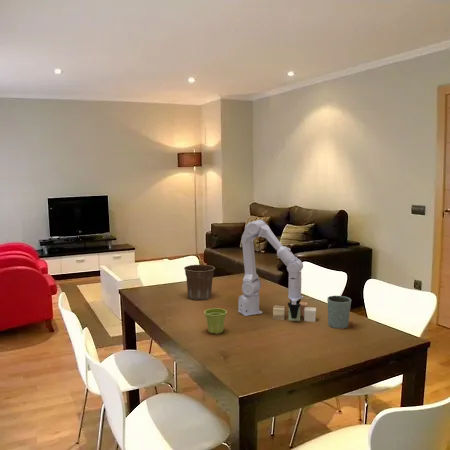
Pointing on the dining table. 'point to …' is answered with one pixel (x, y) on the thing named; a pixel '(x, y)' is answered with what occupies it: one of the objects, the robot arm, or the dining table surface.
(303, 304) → the terracotta block
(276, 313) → the maple block
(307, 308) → the offwhite block
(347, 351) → the dining table surface
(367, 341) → the dining table surface
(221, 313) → the plant pot
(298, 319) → the sage block
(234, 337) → the dining table surface
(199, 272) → the plant pot
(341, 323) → the blue-grey tapered cup
